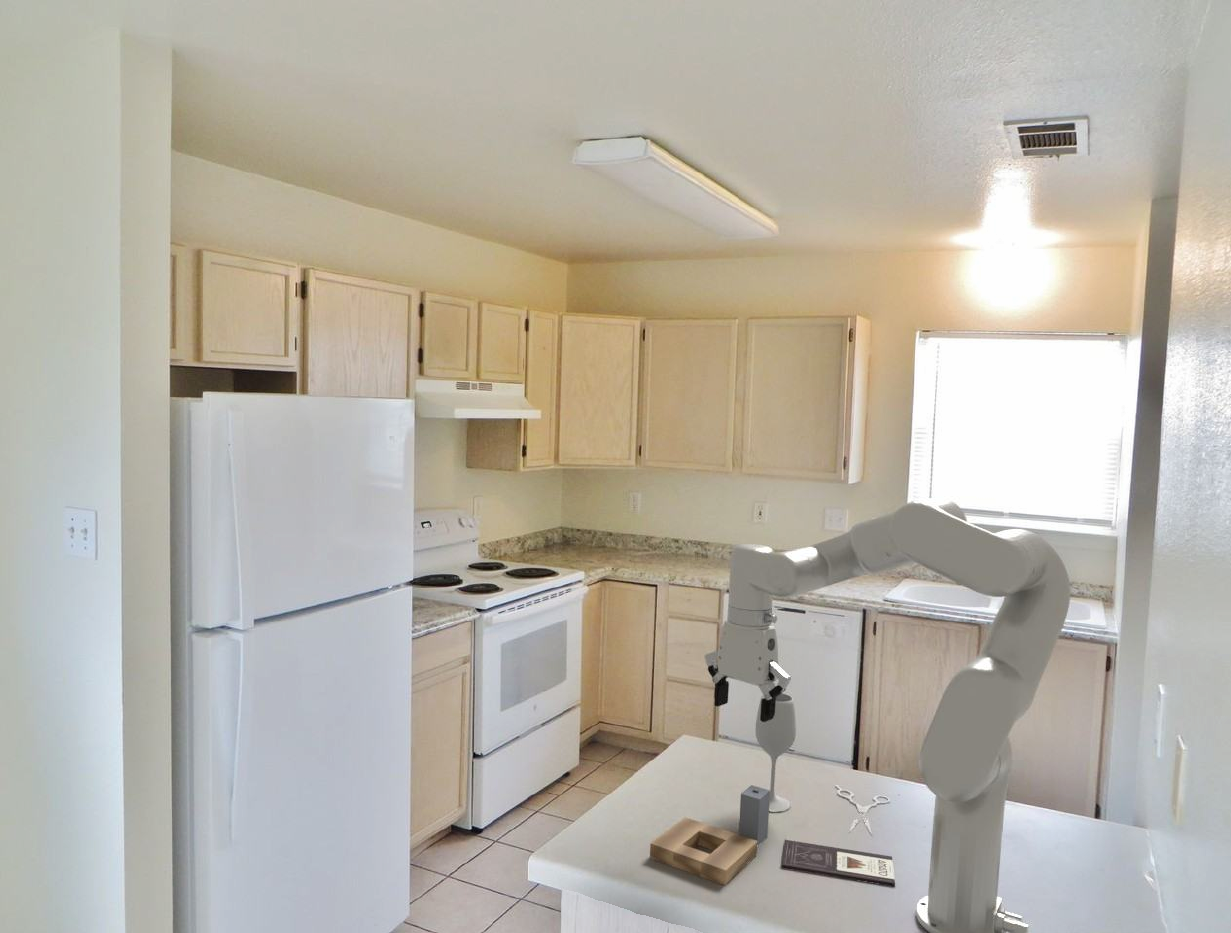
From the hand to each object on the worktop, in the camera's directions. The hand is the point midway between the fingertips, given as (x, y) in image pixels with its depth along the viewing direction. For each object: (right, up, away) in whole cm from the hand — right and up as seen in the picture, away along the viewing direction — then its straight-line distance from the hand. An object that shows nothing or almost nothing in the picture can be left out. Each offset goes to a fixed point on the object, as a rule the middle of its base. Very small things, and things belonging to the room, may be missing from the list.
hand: (743, 712), depth 156 cm
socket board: (-8, -23, -6) cm, 25 cm away
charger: (+2, -23, +1) cm, 23 cm away
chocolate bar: (+15, -24, -6) cm, 29 cm away
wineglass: (+8, -22, +15) cm, 28 cm away
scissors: (+24, -23, +14) cm, 37 cm away
